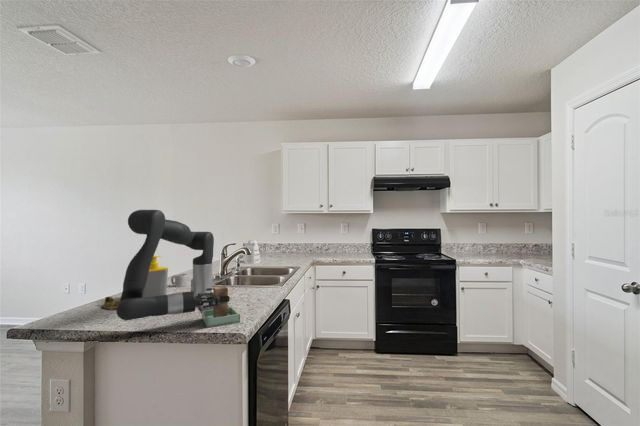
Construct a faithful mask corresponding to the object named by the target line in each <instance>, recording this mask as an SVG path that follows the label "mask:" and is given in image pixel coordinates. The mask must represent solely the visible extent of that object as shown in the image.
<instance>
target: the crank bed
mask: <svg viewBox="0 0 640 426" xmlns="http://www.w3.org/2000/svg"><path fill="white" fill-rule="evenodd" d="M206 290H207V291H210V290H211V292H212V293H213V287H212V288H208V289H206ZM198 307H199V309H200V310H201V312H202V311H206V310H213V306H212V307H206V308H203V307H200V306H198ZM228 307H230V306H229V305H228Z"/></svg>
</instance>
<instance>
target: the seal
mask: <svg viewBox="0 0 640 426" xmlns="http://www.w3.org/2000/svg"><path fill="white" fill-rule="evenodd" d="M119 303H120V300H117V301H115V300H114V298H113V297H112V296H106V297H105V298H104V303H103V304H102V305H101V306H100V308H101V309H102V310H106V311H116V310H117V307H118V305H119Z"/></svg>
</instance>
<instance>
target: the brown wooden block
mask: <svg viewBox="0 0 640 426" xmlns="http://www.w3.org/2000/svg"><path fill="white" fill-rule="evenodd" d="M212 288H213V297H222V296H229V293H228V292H229V291H228V287H227V286H226V285H222V286H212ZM213 302H215V301H213ZM228 303H229V302H224V303H220V304H219V305H217V306H213V318H217V317H223V316H228V306H229V305H228Z"/></svg>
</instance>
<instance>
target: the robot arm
mask: <svg viewBox="0 0 640 426" xmlns="http://www.w3.org/2000/svg"><path fill="white" fill-rule="evenodd" d="M127 224H128V228H129V229H130V230H131V231H132V232H133V233H135V234H137V235H146V237H145V241H144V242H143V244H142V246H141V248H139V250H138V251H137V252H136V254H135V255H134V256H133V257H132V259H131V260H130V261H129V263H128V264H127V266H126V269H125V275H124V278H123V284H122V292H121V296H120V300H119V301H120V303H119V305H118V307H117V310H115V311H116V315H117V317H118V318H119V319H121V320H123V321H131V320H136V319H137V320H138V319H142V318H148V317H160V316H166V315H179V314H180V315H181V314H186V313H188V314H189V313H193V312H195V311H196V307H199V306H200V307H203V308H206V307H212V306H217V305H219V304H220V303H224V302H228V303H229V302H230V300H231V299H230V296H229V295H228V296H222V297H213V293H212V292H211V290H210V291H207V290H206V289H208V288H213V258H214V248H215V247H214V245H215V239H214V234H213V233H212V232H211V231H191V228H190V227H189V226H188V225H186V224H184V223H183V222H180V221H177V220H171V219H166V216H165V213H164V212H163V211H161V210H159V209H137V210H134V211H133V212H132V213H130V214H129V216H128V218H127ZM161 240H163V241H166V242H169V243H173V244H177V245H181V246H182V245H183V246H185V247H188V248H189V249H191V250H195V251H202V253H201V254H200V255H199V256H196V257H193V259H192V278H191V280H190V291H183V292H182V291H181V292H173V293H169V294H166V295H160V296H154V297H145V298H143V291H144V289H145V286H146V282H147V277H148V273H149V268H150V265H151V261H152V259H153V256H155V253H156V251H157V248H158V245H159V243H160V241H161ZM213 301H215V302H213ZM200 307H199V308H200Z"/></svg>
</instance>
